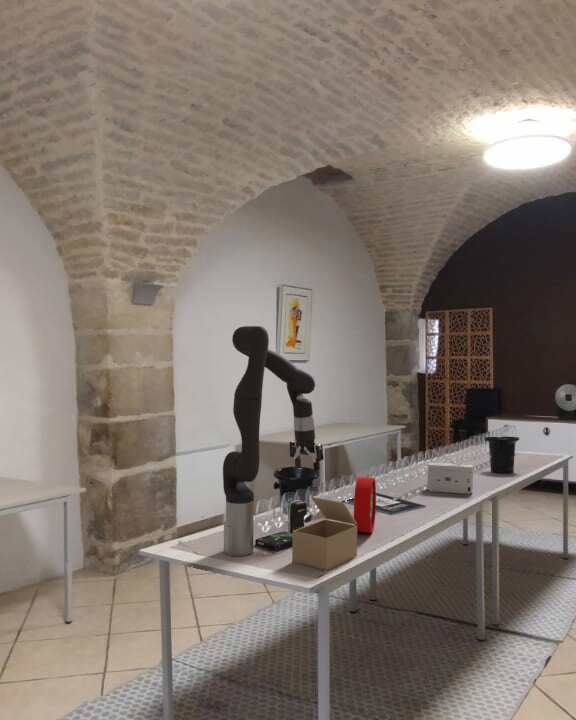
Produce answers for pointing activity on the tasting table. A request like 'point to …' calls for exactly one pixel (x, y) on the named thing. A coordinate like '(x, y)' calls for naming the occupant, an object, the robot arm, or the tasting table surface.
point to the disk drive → (275, 541)
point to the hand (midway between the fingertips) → (307, 470)
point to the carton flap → (334, 510)
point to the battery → (296, 515)
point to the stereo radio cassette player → (450, 477)
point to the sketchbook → (392, 505)
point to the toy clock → (365, 504)
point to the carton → (324, 544)
